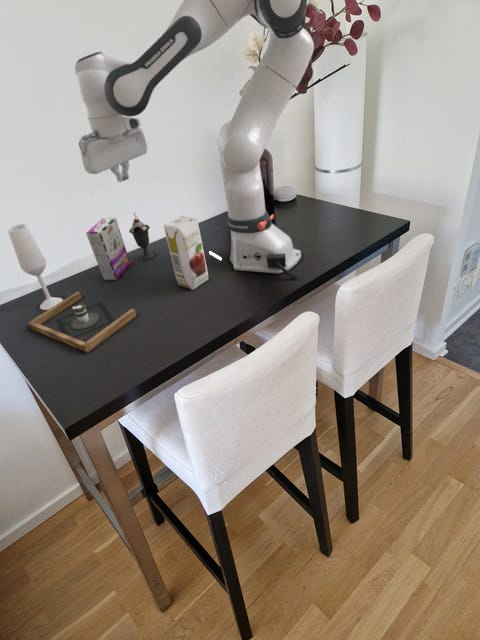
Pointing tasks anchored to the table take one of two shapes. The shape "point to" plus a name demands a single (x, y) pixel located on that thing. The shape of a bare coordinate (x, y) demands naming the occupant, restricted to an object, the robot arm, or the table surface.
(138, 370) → the table surface
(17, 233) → the champagne flute
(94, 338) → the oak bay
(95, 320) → the grey round stand
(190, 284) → the juice carton
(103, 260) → the candy bar box
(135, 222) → the sundae
